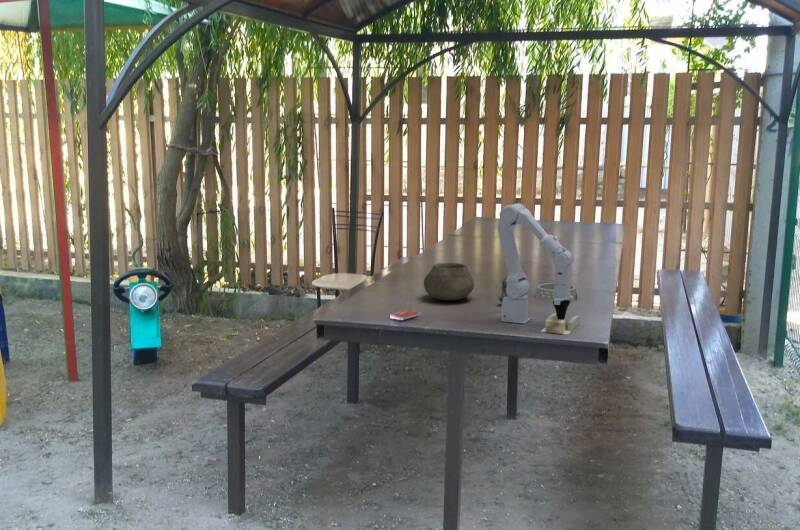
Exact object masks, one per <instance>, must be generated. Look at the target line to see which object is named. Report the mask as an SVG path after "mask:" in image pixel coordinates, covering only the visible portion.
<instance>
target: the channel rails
mask: <svg viewBox="0 0 800 530" xmlns="http://www.w3.org/2000/svg"><path fill="white" fill-rule="evenodd" d="M549 318H551V319H557V314H556V313H552V314H550V315H549V316H548V317H547V318H546V319H545V320H544V328H546V321H547V320H548V319H549ZM579 324H580V316H579V315H574V316H573V317H572V318H570V320H569V321H567V329H566V330H567V331H571V332H572V331H573V330H575V328H576V327H577V326H578V325H579Z"/></svg>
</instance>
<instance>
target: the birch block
mask: <svg viewBox="0 0 800 530" xmlns="http://www.w3.org/2000/svg"><path fill="white" fill-rule="evenodd" d="M566 323H567V322H566V319H564V320H560V319H551V318H549V319H548V320H547V321H546V329H545V332H544V333H550V334H558V335H564V334H563V333H564V332H565V330H566Z"/></svg>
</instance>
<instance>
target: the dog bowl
mask: <svg viewBox="0 0 800 530" xmlns="http://www.w3.org/2000/svg"><path fill="white" fill-rule="evenodd" d="M553 295H554V282H546V283H545V282H544V283H541V284H539V285H537V286H536V289H535V298H536V300H537V299H538V301H540V300H541V301H540V302H545V303H553V301H554V298H553ZM570 296H573V299H567V300H570V303H573V302H576V298H578V292H577V288H576V286H575V285H573V284H570Z"/></svg>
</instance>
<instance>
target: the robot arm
mask: <svg viewBox="0 0 800 530" xmlns="http://www.w3.org/2000/svg"><path fill="white" fill-rule="evenodd" d="M498 219H499V220H498V223H497V233H498V238H499V241H500V242H499V243H500V246H501V251H502V253H503V259H504V263H505V266H506V271H507V276H506V277H507V279H506V278H505V279H506V282H507V287H506V292H507V295H508V296H509V297H504V298H503V300H502V307H501V319H500V321H501V322H507V323H515V324H526V323H528V322H529V321H530V320H531V319H532V318H531V317H528V315H529V314H528V313H529V311H528V310H529V293H530V291H531V289H532V286H531V282H530V281H529V280H528V278H527V275H526V273H525V272H524V271H523V269H522V265H521V260H520V256H519V252H518V248H517V244H516V239H515V235H514V229H515V227H516V226H517V224H518V225H522V226H525V227H527V229H528V230H529V231H531V233H532V234H533V235H535V237H536V238H537V239H539V241H540V242H539V245H540V247H541V248H542V249H543V250H544V252H546V253H547V255H548V256H549V257H550V258H551V259H552V264H553V266H554V282H553V283H554V295H553V298H554V301H553V302H552V305H553V306H554V309H555V312H556V313H555V314H557V319H560V320H566V319H565V318H566V315H567V311H568V307H569V305H570V304H571V302H570V300H567V299H573V296H570V285H571V277H572V276H571V275H572V263H574V259H575V258H574V254H573V253H572V251H571V250H569V249H567V248H566V247H565V246H563V245H562V244H561V243H560V242H559V241H558V237H557V236H556V235H553V234H547V232H546V231H545V229H544V228H543V227H542V226H541V225H540V223H539V222H538V220H537V219H536V218H535V217H534V216H533V215H532V212H531V211H530V210H529V209H528V208H526V206H525V205H524V204H523V203H521V202H518V203H513V204H509V205H505V206H504V207H503V208H502V209H501V211H499V218H498Z"/></svg>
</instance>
